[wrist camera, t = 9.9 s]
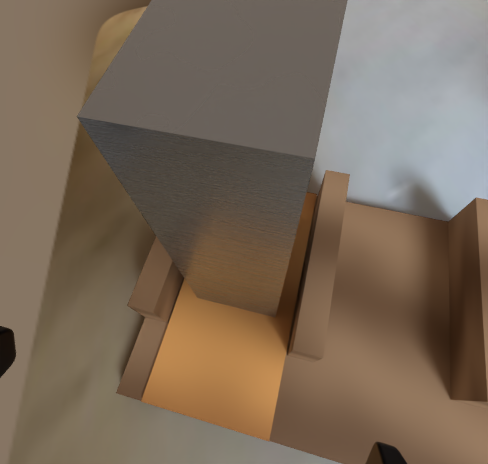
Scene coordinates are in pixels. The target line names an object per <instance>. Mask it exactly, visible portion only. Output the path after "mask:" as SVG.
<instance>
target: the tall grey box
mask: <svg viewBox="0 0 488 464" xmlns="http://www.w3.org/2000/svg"><path fill="white" fill-rule="evenodd" d="M346 5H347V0H152V1H151V2H150V4H149V5H148V7H147V8H146V10H145V11H144V13H143V15H142V16H141V18H140V19H139V21H138V22H137V24H136V25H135V27H134V28H133V30H132V32H131V33H130V35H129V36H128V38H127V39H126V41H125V42H124V44H123V46H122V47H121V49H120V50H119V52H118V53H117V55H116V56H115V58H114V59H113V61H112V63H111V64H110V66H109V67H108V69H107V70H106V72H105V73H104V75H103V76H102V78H101V80H100V81H99V83H98V84H97V86H96V87H95V89H94V90H93V92H92V94H91V95H90V97H89V98H88V100H87V101H86V103H85V104H84V106H83V107H82V109H81V111H80V112H79V114H78V115H77V117H78V119H79V120H80V122H81V123H82V125H83V126H84V128H85V129H86V131H87V133H88V134H89V136H90V137H91V139H92V140H93V142H94V143H95V145H96V146H97V148H98V149H99V151H100V152H101V154H102V155H103V157H104V158H105V160H106V161H107V163H108V164H109V166H110V167H111V169H112V170H113V172H114V173H115V175H116V176H117V178H118V179H119V181H120V182H121V184H122V185H123V187H124V188H125V190H126V191H127V193H128V194H129V196H130V197H131V199H132V200H133V202H134V203H135V205H136V206H137V208H138V209H139V211H140V212H141V214H142V215H143V217H144V218H145V220H146V221H147V223H148V224H149V226H150V227H151V229H152V230H153V232H154V233H155V235H156V236H157V238H158V239H159V241H160V242H161V244H162V245H163V247H164V248H165V250H166V251H167V253H168V254H169V256H170V257H171V259H172V260H173V262H174V263H175V265H176V266H177V268H178V269H179V271H180V272H181V274H182V275H183V277H184V278H185V280H186V282H187V283H188V285H189V286H190V288H191V289H192V291H193V292H194V294H195V295H196V297H197V298H200V299H204V300H208V301H212V302H216V303H220V304H224V305H228V306H232V307H236V308H240V309H244V310H248V311H252V312H256V313H260V314H264V315H268V316H271V317H275V316H276V312H277V308H278V304H279V300H280V296H281V292H282V288H283V284H284V280H285V276H286V272H287V268H288V264H289V260H290V256H291V252H292V248H293V244H294V240H295V236H296V232H297V228H298V224H299V220H300V216H301V212H302V208H303V204H304V200H305V196H306V192H307V188H308V184H309V180H310V176H311V172H312V168H313V164H314V160H315V156H316V151H317V146H318V141H319V136H320V131H321V127H322V122H323V117H324V112H325V107H326V102H327V97H328V92H329V88H330V83H331V78H332V73H333V68H334V63H335V58H336V53H337V48H338V44H339V39H340V34H341V29H342V24H343V19H344V14H345V9H346Z"/></svg>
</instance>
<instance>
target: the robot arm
mask: <svg viewBox="0 0 488 464" xmlns="http://www.w3.org/2000/svg"><path fill="white" fill-rule="evenodd" d="M15 357H16V350H15V341H14V333H13V331H12V330H11V329H9V328H5V327H2V326H0V378H1V376H2V375H3V374H4V373H5V372H6V370H7V369H8V368H9V367H10V366H11V365H12V363H13V362H14V360H15ZM366 464H408V463H407V462H406V460H405V459H404V457H403V456H402V454H401V453H400V451H399V450H398V449H397V448H396V447H394V446H392V445H389V444H385V443H382V442H375V443H374V445H373V447H372V449H371V452H370V454H369V456H368V459H367V461H366Z"/></svg>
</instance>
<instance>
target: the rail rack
mask: <svg viewBox="0 0 488 464" xmlns="http://www.w3.org/2000/svg"><path fill="white" fill-rule="evenodd" d="M349 176H350V174H345V173H339V172H334V171H328V170H326V172H325V175H324V178H323V181H322V185H321V188H320V191H319V194H318V196H316V195H317V194H314V193H309V192H306V196H305V200H304V204H303V208H302V212H301V216H300V220H299V224H298V228H297V232H296V236H295V240H294V244H293V248H292V252H291V256H290V260H289V264H288V268H287V272H286V276H285V280H284V284H283V288H282V292H281V296H280V300H279V304H278V308H277V312H276V316H275V317H271V316H268V315H264V314H260V313H256V312H252V311H248V310H244V309H240V308H236V307H232V306H228V305H224V304H220V303H216V302H212V301H208V300H204V299H200V298H197V297H196V295H195V294H194V292H193V291H192V289H191V288H190V286H189V285H188V283H187V282H186V280H185V278H184V277H183V275H182V274H181V272H180V271H179V269H178V268H177V266H176V265H175V263H174V262H173V260H172V259H171V257H170V256H169V254H168V253H167V251H166V250H165V248H164V247H163V245H162V244H161V242H160V241H159V239H158V238H157V236H156V238H155V240H154V242H153V245H152V247H151V250H150V252H149V254H148V257H147V259H146V262H145V264H144V266H143V269H142V271H141V274H140V276H139V278H138V281H137V283H136V286H135V288H134V290H133V293H132V295H131V298H130V300H129V302H128V305H127V306H129V307H130V308H132V309H133V310H135V311H136V312H138V313H140V314H141V315H143V316H144V317H145V320H144V322H143V325H142V327H141V330H140V332H139V335H138V338H137V340H136V343H135V345H134V348H133V351H132V353H131V356H130V358H129V361H128V364H127V366H126V369H125V371H124V374H123V376H122V379H121V382H120V384H119V387H118V389H117V392H116V393H118V394H121V395H124V396H127V397H131V398H134V399H137V400H140V401H142V402H145V403H148V404H151V405H154V406H158V407H161V408H164V409H167V410H170V411H174V412H177V413H180V414H183V415H186V416H190V417H193V418H196V419H199V420H202V421H206V422H209V423H212V424H215V425H218V426H222V427H225V428H228V429H231V430H234V431H238V432H241V433H244V434H247V435H250V436H254V437H257V438H260V439H263V440H266V441H272V442H275V443H278V444H281V445H285V446H288V447H291V448H294V449H297V450H301V451H304V452H307V453H310V454H313V455H317V456H320V457H323V458H326V459H330V460H333V461H336V462H339V463H342V464H366V461H367V459H368V456H369V454H370V452H371V449H372V447H373V445H374V443H375V442H382V443H385V444H389V445H392V446H394V447H396V448H397V449H398V450H399V451H400V453H401V454H402V456H403V457H404V459H405V460H406V462H407V463H408V464H488V200H487V199H481V198H475V199H474V200H473V201H472V202H470V203H469V204H468V205H467V206H466V207H465V208H464V209H462V210H461V211H460V212H459V213H458V214H457V215H456V216H454V217H453V218H452V219H451V220H450V221H449V222H447V221H442V220H437V219H432V218H426V217H421V216H416V215H411V214H406V213H401V212H396V211H391V210H386V209H380V208H375V207H370V206H365V205H360V204H355V203H350V202H346V197H347V190H348V183H349Z"/></svg>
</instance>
